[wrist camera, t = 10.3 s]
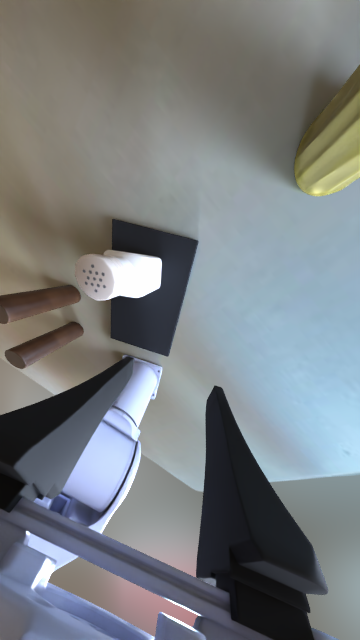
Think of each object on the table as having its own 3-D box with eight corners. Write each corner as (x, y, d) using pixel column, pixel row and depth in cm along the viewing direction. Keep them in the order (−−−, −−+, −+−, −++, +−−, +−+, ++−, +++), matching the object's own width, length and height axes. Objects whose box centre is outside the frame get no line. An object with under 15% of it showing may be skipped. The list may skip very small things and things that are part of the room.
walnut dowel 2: (84, 337, 26) (27, 371, 18) (70, 333, 26) (8, 364, 18) (83, 324, 24) (21, 354, 16) (68, 319, 25) (1, 347, 17)
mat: (168, 354, 24) (168, 356, 23) (112, 336, 24) (110, 338, 24) (198, 241, 16) (198, 240, 15) (115, 220, 17) (112, 218, 16)
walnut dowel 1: (81, 304, 23) (11, 327, 15) (66, 299, 23) (-12, 319, 15) (79, 287, 22) (3, 302, 13) (63, 283, 22) (-22, 294, 14)
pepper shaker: (134, 253, 17) (63, 243, 9) (163, 257, 17) (118, 250, 8) (134, 284, 19) (75, 301, 10) (161, 288, 18) (122, 310, 10)
